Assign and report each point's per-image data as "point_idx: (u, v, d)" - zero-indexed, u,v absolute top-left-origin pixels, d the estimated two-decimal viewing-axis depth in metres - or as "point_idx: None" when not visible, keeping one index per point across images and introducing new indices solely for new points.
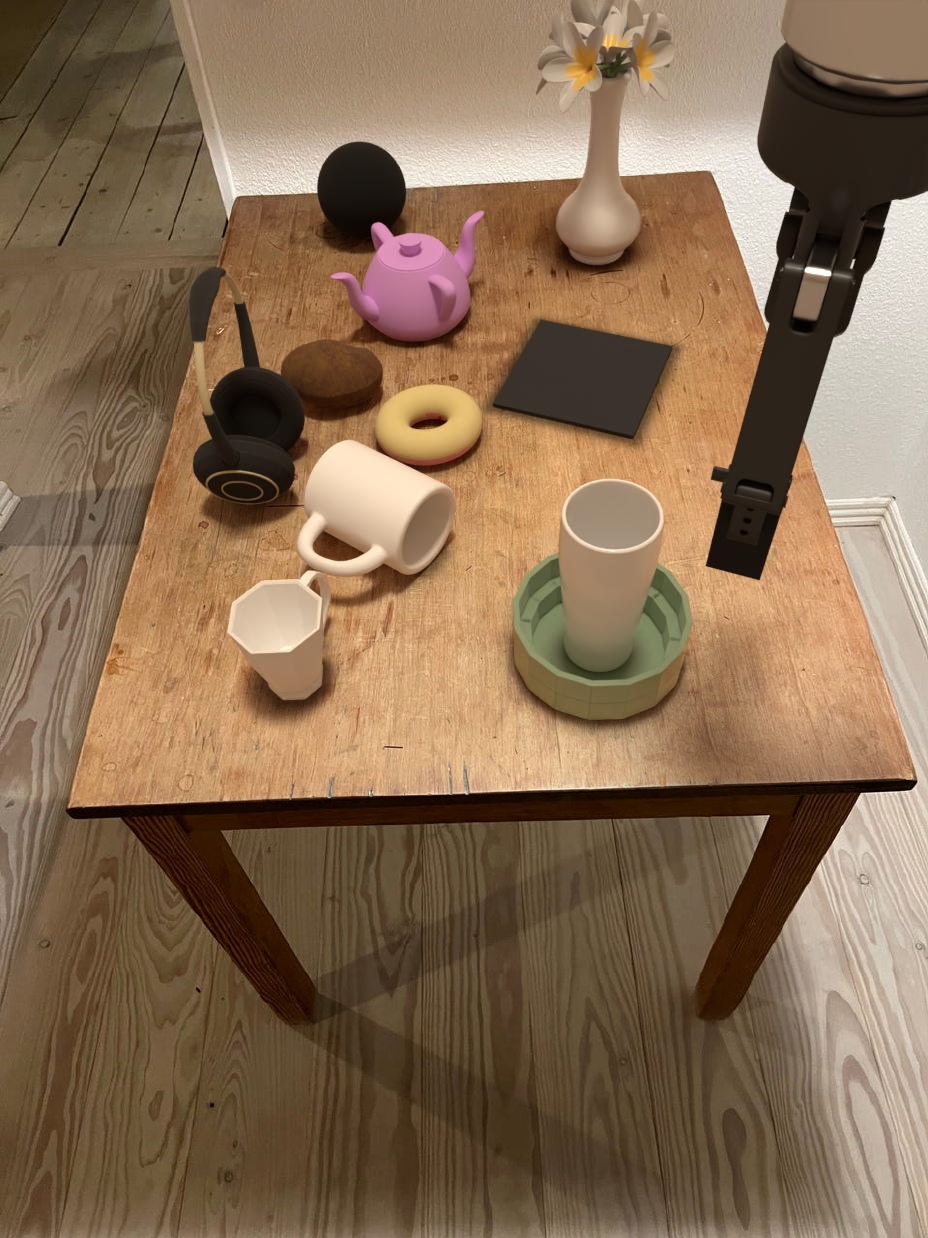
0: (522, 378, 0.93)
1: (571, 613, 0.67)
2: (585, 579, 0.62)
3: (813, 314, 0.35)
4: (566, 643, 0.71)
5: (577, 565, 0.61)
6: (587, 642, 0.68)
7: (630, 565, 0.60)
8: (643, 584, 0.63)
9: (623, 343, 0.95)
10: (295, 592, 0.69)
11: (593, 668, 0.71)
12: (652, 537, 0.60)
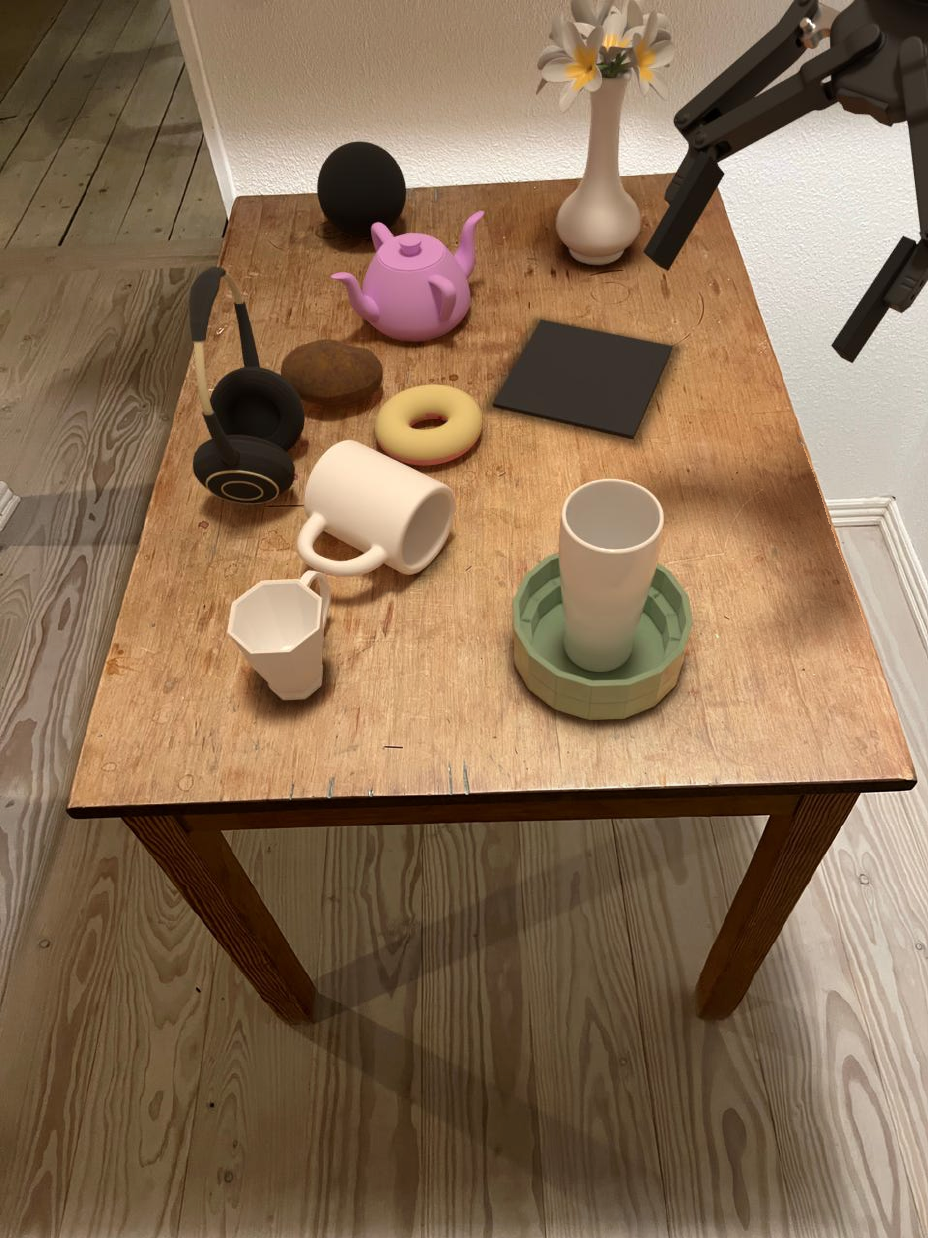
0: (522, 378, 0.93)
1: (571, 613, 0.67)
2: (585, 579, 0.62)
3: None
4: (566, 643, 0.71)
5: (577, 565, 0.61)
6: (587, 642, 0.68)
7: (630, 565, 0.60)
8: (643, 584, 0.63)
9: (623, 343, 0.95)
10: (295, 592, 0.69)
11: (593, 668, 0.71)
12: (652, 537, 0.60)
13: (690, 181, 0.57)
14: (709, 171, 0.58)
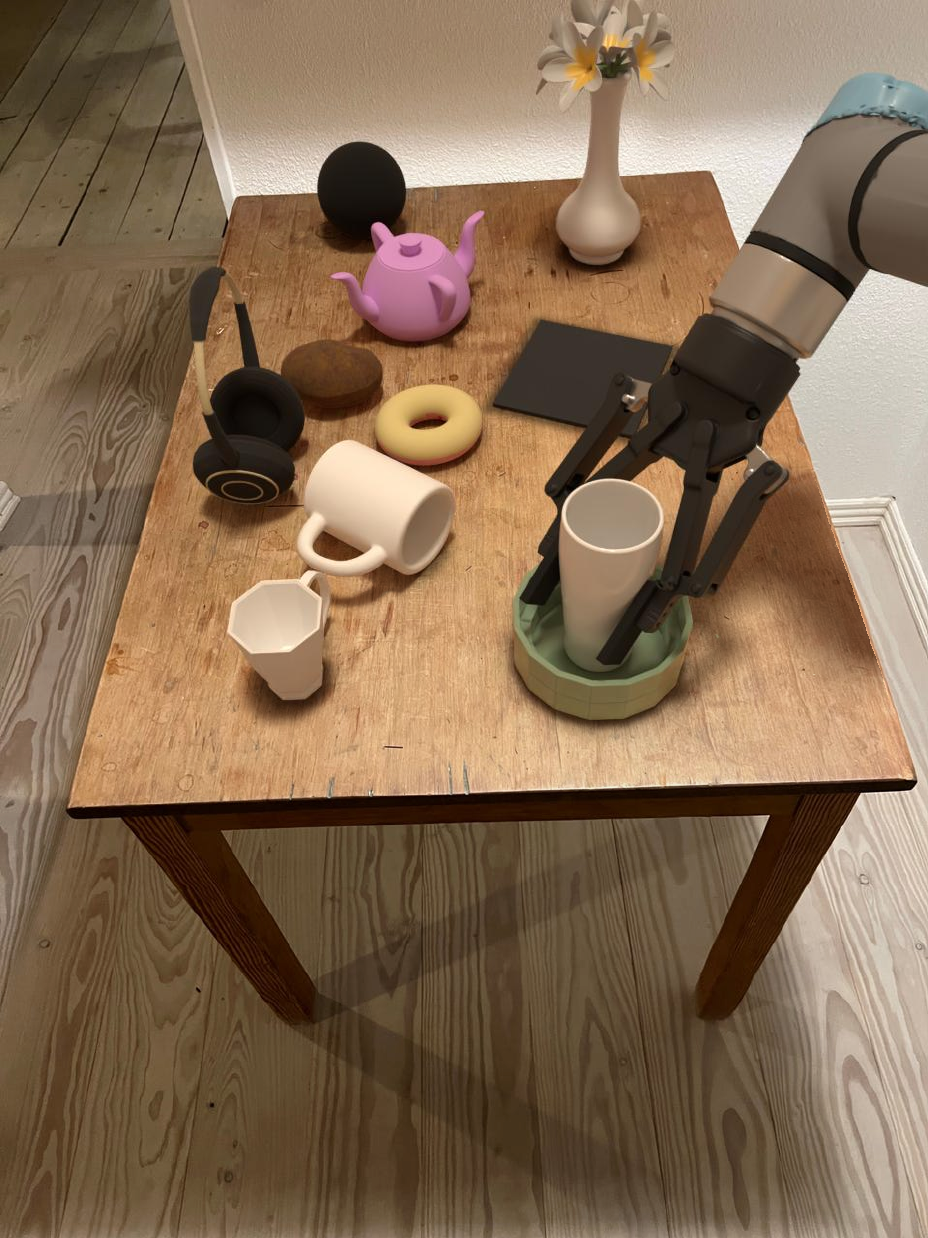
0: (522, 378, 0.93)
1: (571, 613, 0.67)
2: (585, 579, 0.62)
3: None
4: (566, 643, 0.71)
5: (577, 565, 0.61)
6: (587, 642, 0.68)
7: (630, 565, 0.60)
8: (643, 584, 0.63)
9: (623, 343, 0.95)
10: (295, 592, 0.69)
11: (594, 668, 0.71)
12: (652, 537, 0.60)
13: (557, 546, 0.66)
14: None
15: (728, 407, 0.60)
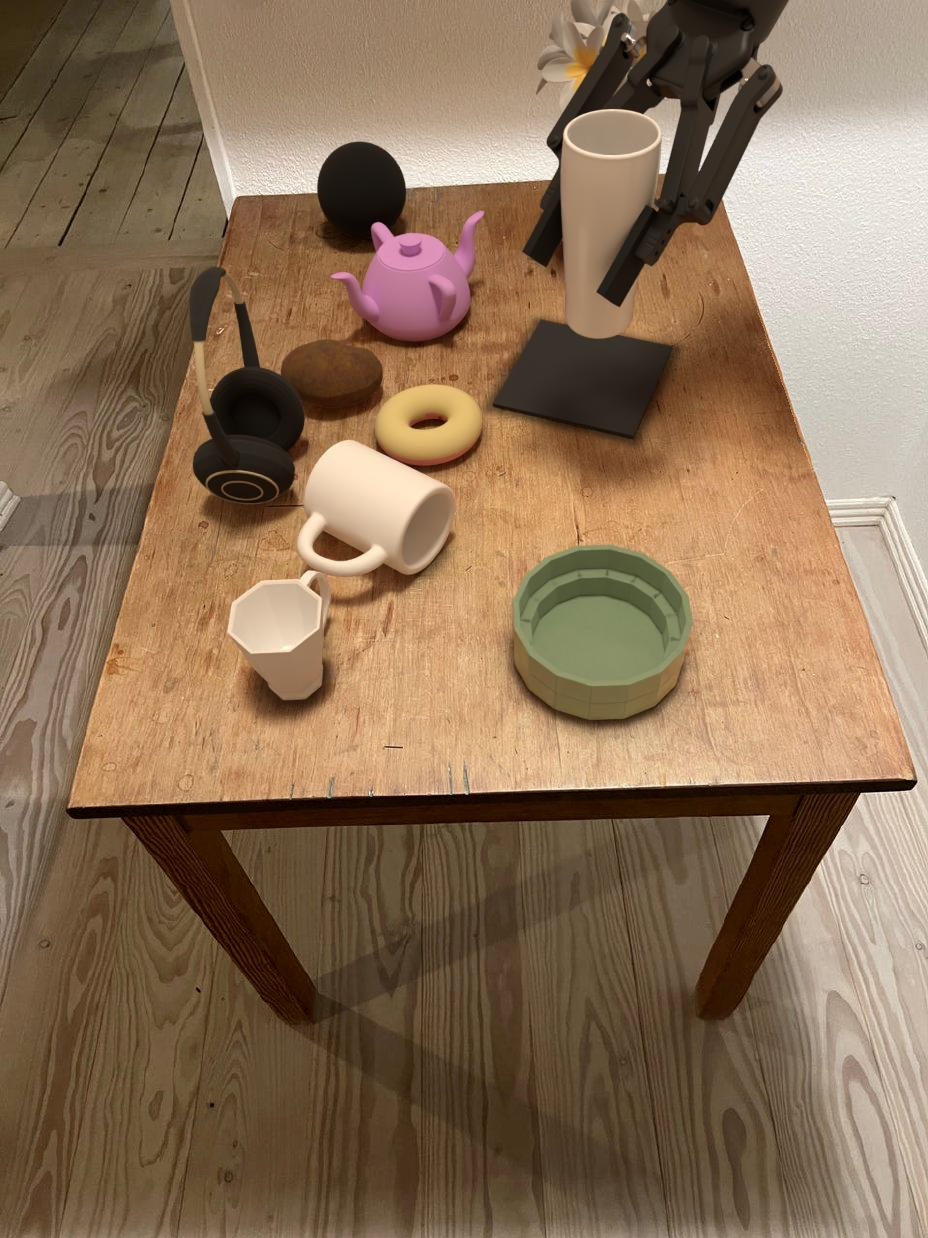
0: (522, 378, 0.93)
1: (572, 259, 0.69)
2: (586, 200, 0.64)
3: None
4: (567, 309, 0.73)
5: (578, 183, 0.64)
6: (587, 295, 0.70)
7: (629, 176, 0.62)
8: (642, 210, 0.65)
9: (623, 343, 0.95)
10: (295, 592, 0.69)
11: (594, 332, 0.73)
12: (651, 146, 0.62)
13: (558, 192, 0.69)
14: None
15: (724, 23, 0.62)
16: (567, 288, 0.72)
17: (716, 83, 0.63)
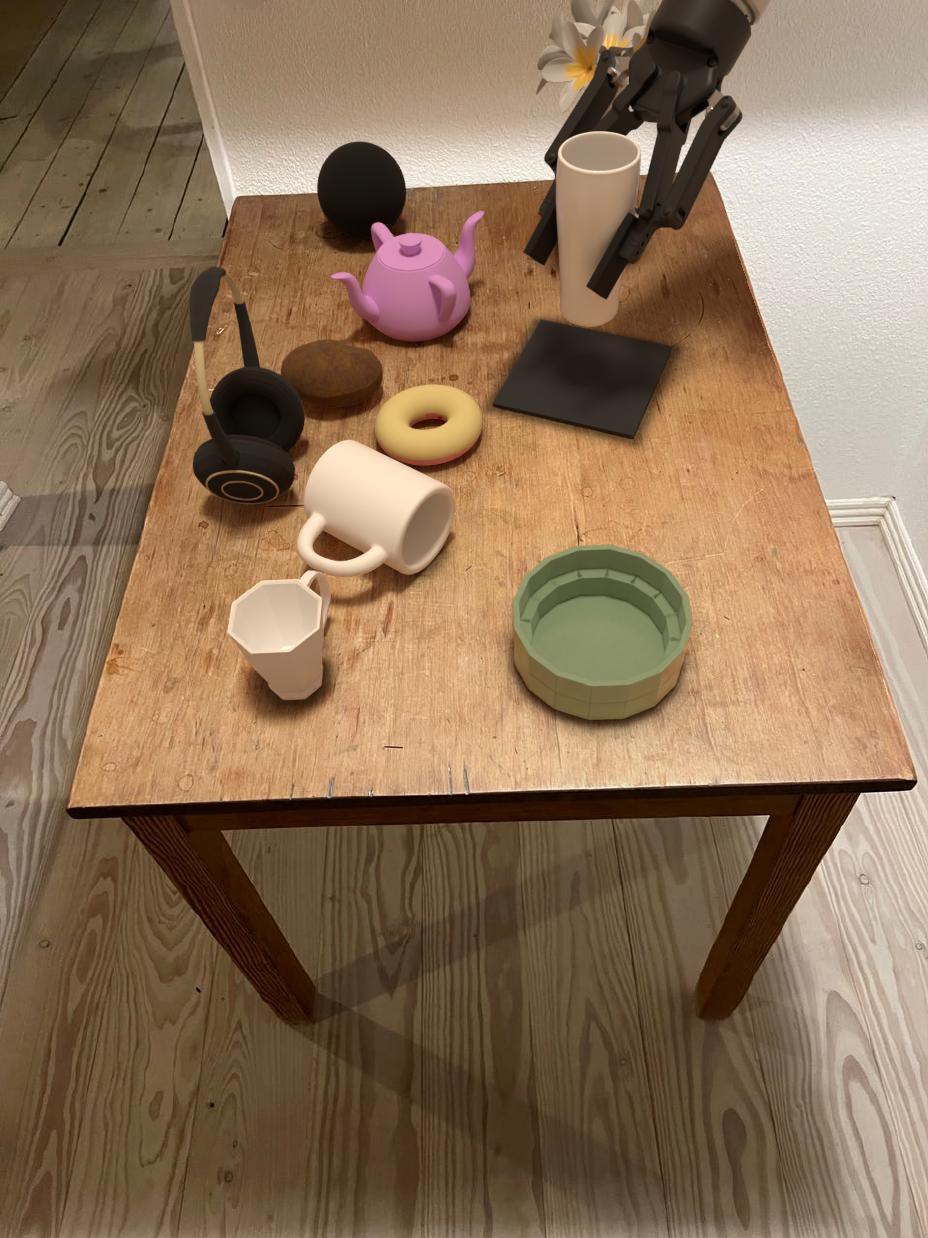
0: (522, 378, 0.93)
1: (566, 258, 0.81)
2: (577, 208, 0.76)
3: None
4: (562, 301, 0.85)
5: (571, 194, 0.75)
6: (579, 289, 0.82)
7: (613, 188, 0.74)
8: None
9: (623, 343, 0.95)
10: (295, 592, 0.69)
11: (585, 321, 0.85)
12: (631, 163, 0.74)
13: (554, 201, 0.80)
14: None
15: (693, 60, 0.74)
16: (562, 283, 0.84)
17: (687, 110, 0.75)
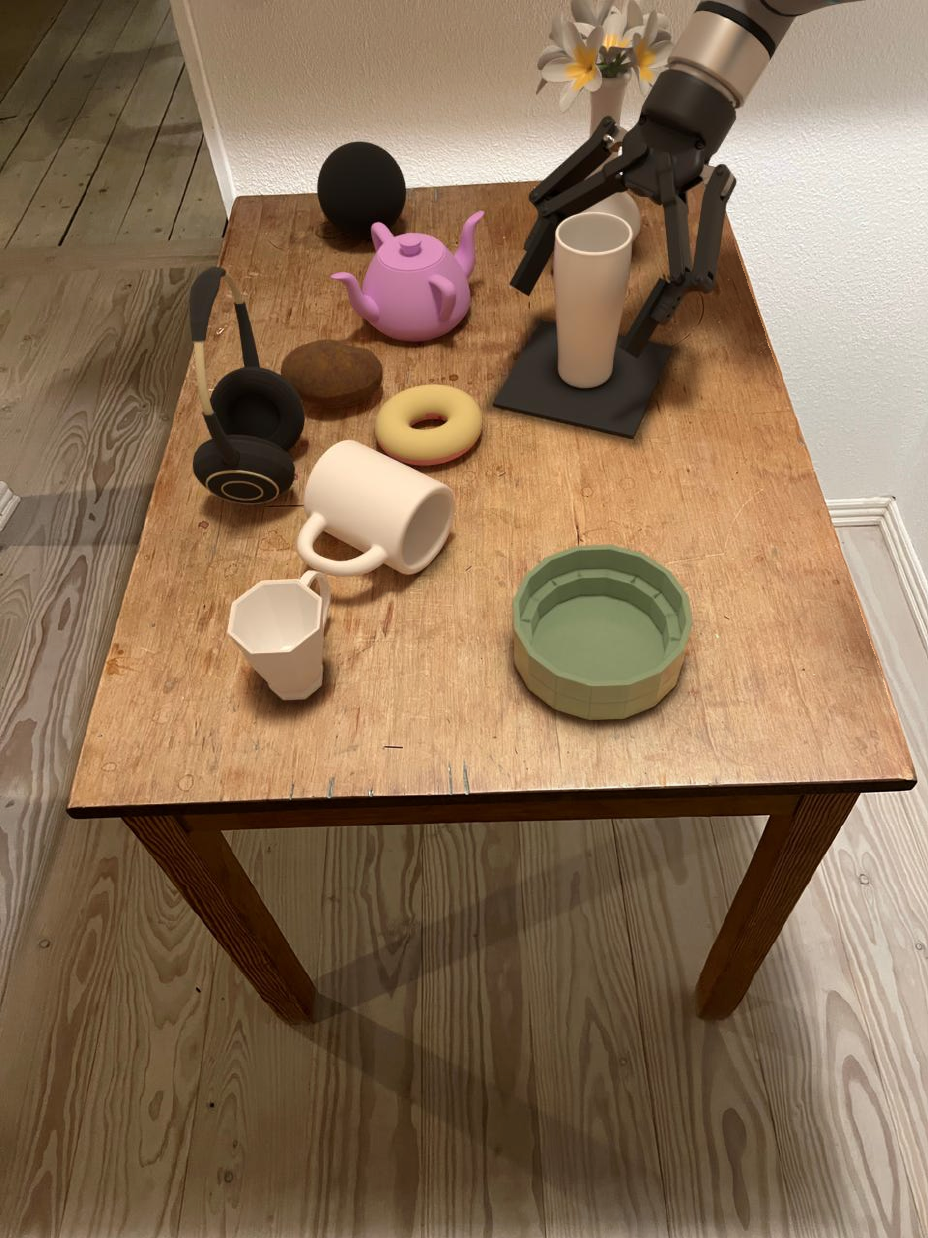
0: (522, 378, 0.93)
1: (563, 327, 0.86)
2: (573, 284, 0.82)
3: None
4: (560, 364, 0.91)
5: (567, 272, 0.81)
6: (575, 355, 0.88)
7: (607, 267, 0.80)
8: (617, 291, 0.82)
9: None
10: (295, 592, 0.69)
11: (581, 383, 0.90)
12: (623, 244, 0.79)
13: (538, 238, 0.86)
14: (551, 231, 0.87)
15: (681, 142, 0.79)
16: (559, 348, 0.89)
17: (676, 188, 0.80)
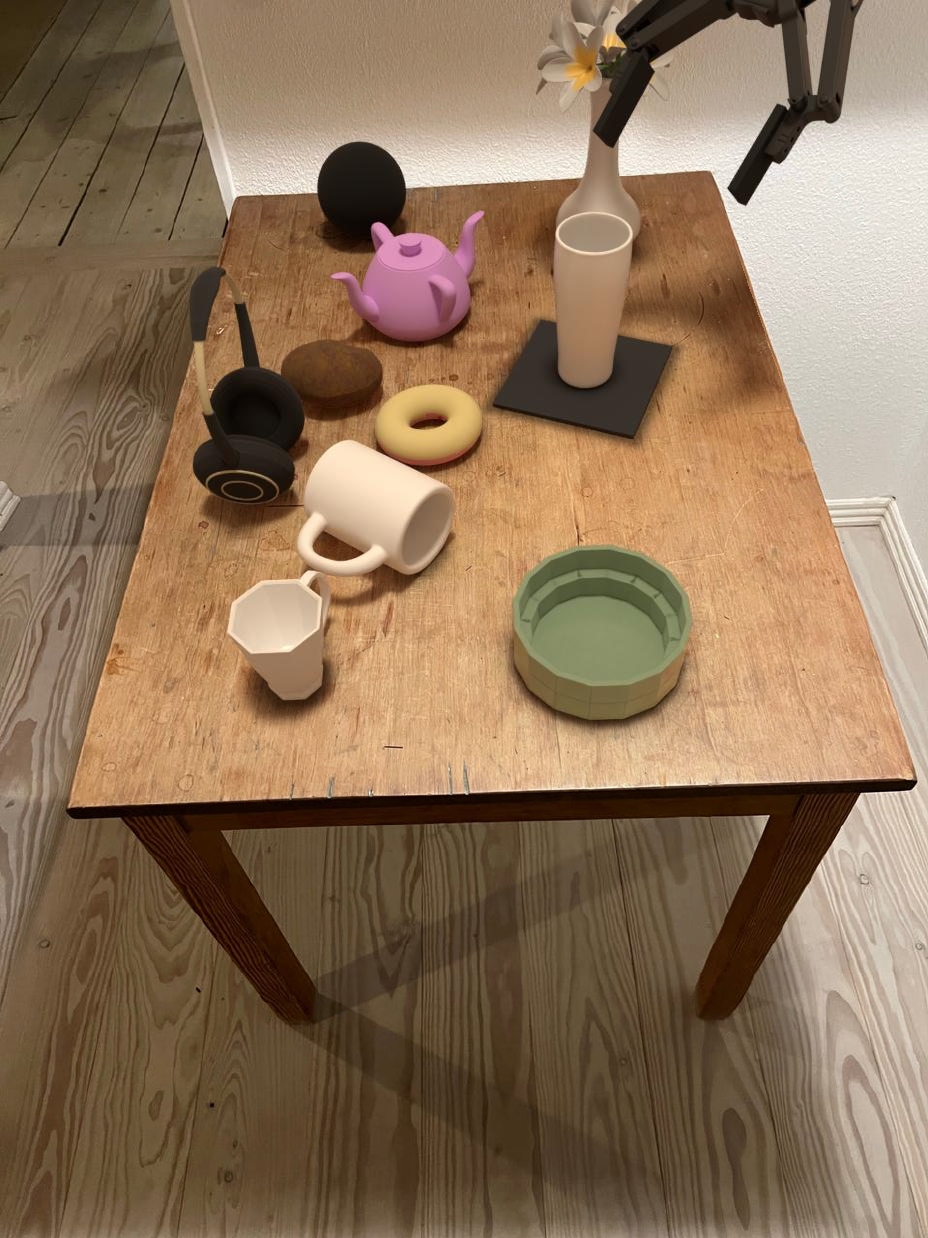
0: (522, 378, 0.93)
1: (563, 327, 0.86)
2: (573, 284, 0.82)
3: None
4: (560, 364, 0.91)
5: (567, 272, 0.81)
6: (575, 355, 0.88)
7: (607, 268, 0.80)
8: (617, 291, 0.82)
9: (623, 343, 0.95)
10: (295, 592, 0.69)
11: (581, 383, 0.90)
12: (623, 244, 0.79)
13: (627, 74, 0.76)
14: (642, 67, 0.76)
15: None
16: (559, 348, 0.89)
17: None
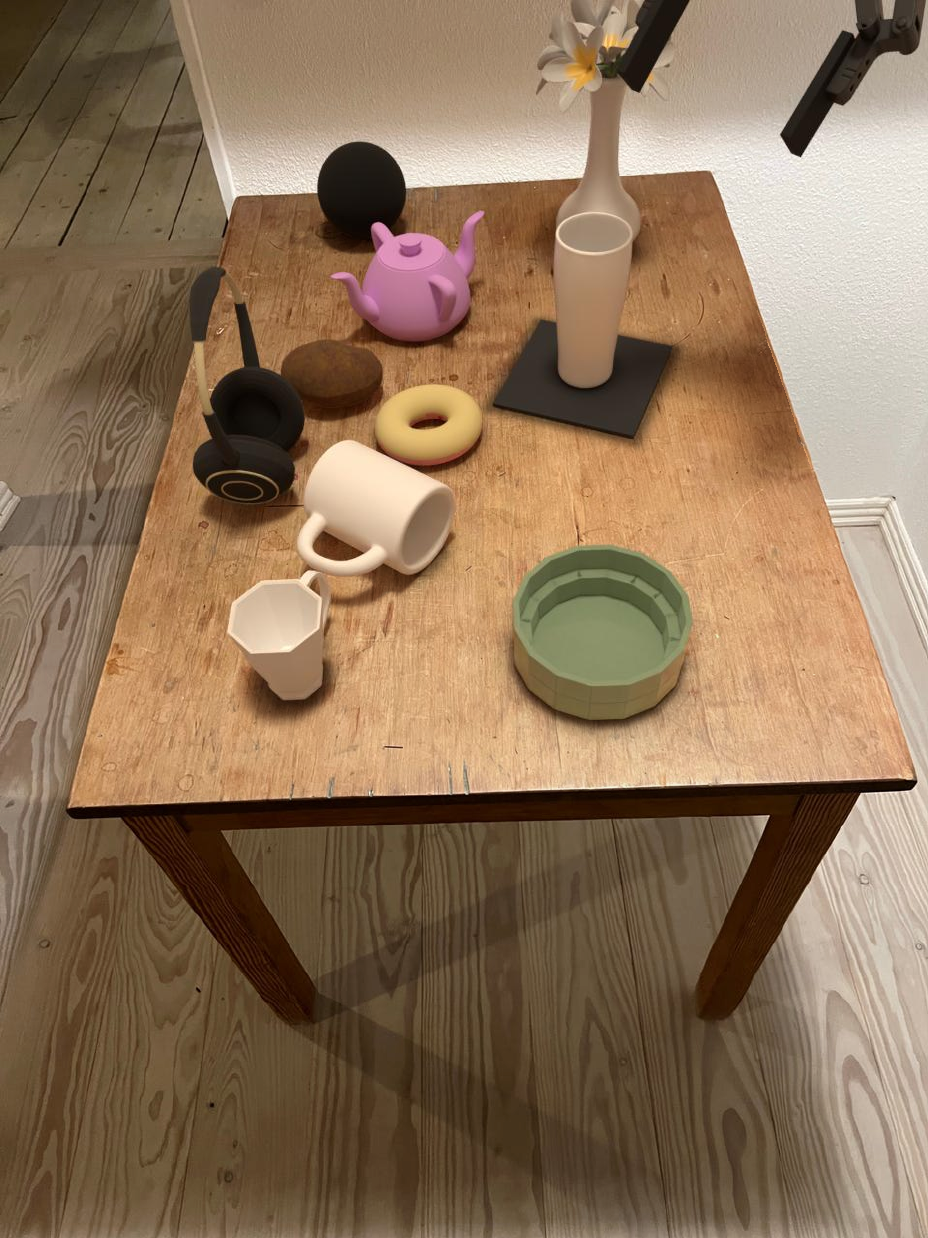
0: (522, 378, 0.93)
1: (563, 327, 0.86)
2: (573, 284, 0.82)
3: None
4: (560, 364, 0.91)
5: (567, 272, 0.81)
6: (575, 355, 0.88)
7: (607, 268, 0.80)
8: (618, 291, 0.82)
9: (623, 343, 0.95)
10: (295, 592, 0.69)
11: (581, 383, 0.90)
12: (623, 244, 0.79)
13: (658, 2, 0.64)
14: None
15: None
16: (559, 348, 0.89)
17: None
